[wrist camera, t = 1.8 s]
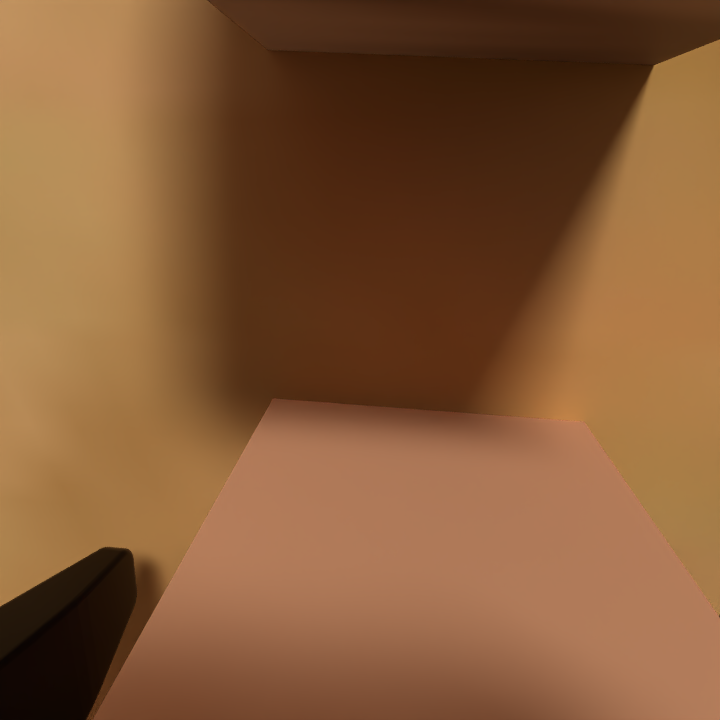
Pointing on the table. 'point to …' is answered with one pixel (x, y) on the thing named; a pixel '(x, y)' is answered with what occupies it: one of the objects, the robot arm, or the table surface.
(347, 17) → the walnut block
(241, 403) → the table surface
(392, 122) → the table surface
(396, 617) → the terracotta block
